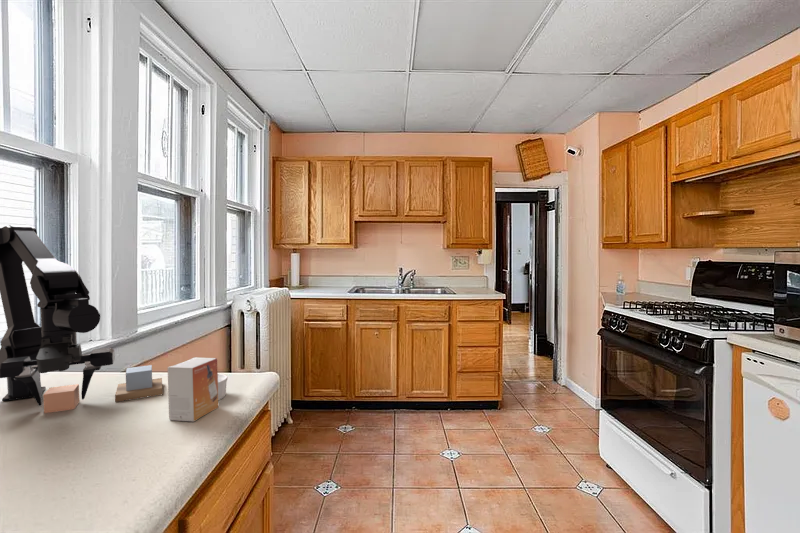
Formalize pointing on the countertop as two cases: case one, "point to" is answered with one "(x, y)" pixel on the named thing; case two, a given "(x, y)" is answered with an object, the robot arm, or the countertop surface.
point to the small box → (192, 389)
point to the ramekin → (222, 385)
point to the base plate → (138, 391)
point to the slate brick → (139, 377)
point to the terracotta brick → (61, 398)
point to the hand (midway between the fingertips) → (62, 402)
